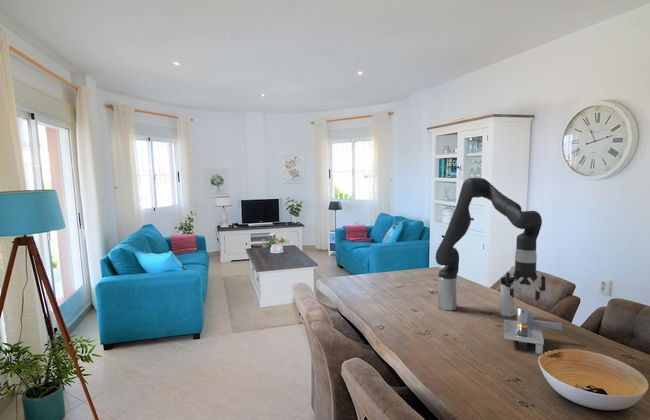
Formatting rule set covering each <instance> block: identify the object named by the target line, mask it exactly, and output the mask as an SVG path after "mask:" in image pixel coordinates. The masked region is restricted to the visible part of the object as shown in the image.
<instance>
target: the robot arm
mask: <svg viewBox="0 0 650 420" xmlns="http://www.w3.org/2000/svg"><path fill="white" fill-rule="evenodd" d="M474 198H484V199H487V200H489V201H490V202H491V203H492V204H491V205H492V206H493V208H494V209H495V210H496V211H497V212H499V213H500V214H501V215H503V216H504V217H506V218H507V220H508V221H509V222H510V223H511V225H512V226H514V227H515V228H517V229H520V230H523V231H522V233H520V234H518V235H517V236H516V243H515V244H516V247H515V248H516V249H515V255H514V259H515V260H514V272H510V271H506V272H505V277H506V281H505V286H506V287H509V288H510V296H512V298H514V299H515V288H514V287H516V286H518V285H519V284H520V285H526V286H531V285H532V287H533V288H534V289H535V293H534V299H535V301H538V300H540V296H541V292H545V291H546V276H545V275H544V274H541V275H539V274H537V257H538V256H537V255H538V254H537V239H538V237H539V234H540V231H541V228H542V223H543V219H542V216H541V214H540V213H539V211H537V210H523V211H522V206H521V205H520V204H519V203H518V202H516V201H514V200H513V199H512V198H509V197H508V196H506V195H504V194H503V193H502V192H500V191H499V190H498V189H497V188H496V187H495V186H494V185H492V183H490V182H489V181H488V180H487V179H485V178H483V177H469V178H466V179H465V180H464V182H463V183H462V185H461V189H460V192H459V196H458V200H457V203H456V206H455V209H454V211H453V213H452V216H451V219H450V221H449V223H448V227H447V229H446V232H445V234H444V236H443V238H442V240H441V242H440V244H439V246H438V248H437V249H436V251H435V261H436V263H437V264H438V265H439V266H444V267H442V269H440V270H439V271H438V292H437V309H440V310H443V311H454V310H455V311H456V309H457V306H458V305H457V302H458V301H457V292H458V291H457V287H458V286H457V283H458V273H459V265H460V264H459V263H460V253H459V251H458V249H456V247H454V246H455V245H456V244H457V243H458V242H459V241H460V240H462V238H463V237H464V236H465V235H466V234H467V232H468V230H469V227H470V225H471V223H472V222H471V221H472V218H471V213H470V204H471V202H472V200H473V199H474ZM511 277H515V280H514V281H513V283H512V284H509V278H511ZM537 279H538V280H539V281H540V286H538V284H537V283H536V282H535V281H536V280H537Z"/></svg>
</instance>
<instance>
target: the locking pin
mask: <svg viewBox="0 0 650 420" xmlns="http://www.w3.org/2000/svg"><path fill="white" fill-rule="evenodd" d="M527 332H528V325H527V324H525V323H519V336H525V337H527ZM517 348H518V349H520V350H523V351H525V350H527V349H528V342H522V341H518V342H517Z"/></svg>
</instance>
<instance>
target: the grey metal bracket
mask: <svg viewBox="0 0 650 420" xmlns="http://www.w3.org/2000/svg"><path fill="white" fill-rule="evenodd" d="M516 309H517V310H516V320H511V319H503V336H504V339H503V340H510V341H516V342H517V341H522V342H527V344H528V343H530V344H534V345H535V346H534V352H535V354H536V355H540V354H542V353H543V352H544V345H545V341H544V340H545V339H544V336H543V335H544V334H543V333H542V329H541V328H546V329H554V330H559V331H560V330H561V331H563V323H562V322H555V321H547V320H541V319H534V312H533V311H529V310H528V307H524V306H518V307H517V308H516ZM519 323H525V324H527V325H528V332H527V337H525V336H519Z"/></svg>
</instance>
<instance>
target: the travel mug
mask: <svg viewBox="0 0 650 420" xmlns="http://www.w3.org/2000/svg"><path fill="white" fill-rule="evenodd" d="M514 280H515V277H514V276H512V277H511V278H509V284H512V283H513V281H514ZM505 281H506V276H503V277H501V278H500V293H499V294H500V298H499V299H500V300H499V302H500V304H499V315H500V316H501V317H503V318H506V319H511V318H512V319H513V318H514V317H515V314H514V312H515V297H514V298H512V296H510V288H509V287H506V286H505ZM515 287H516V286H515ZM515 287H514V289H515Z"/></svg>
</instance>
